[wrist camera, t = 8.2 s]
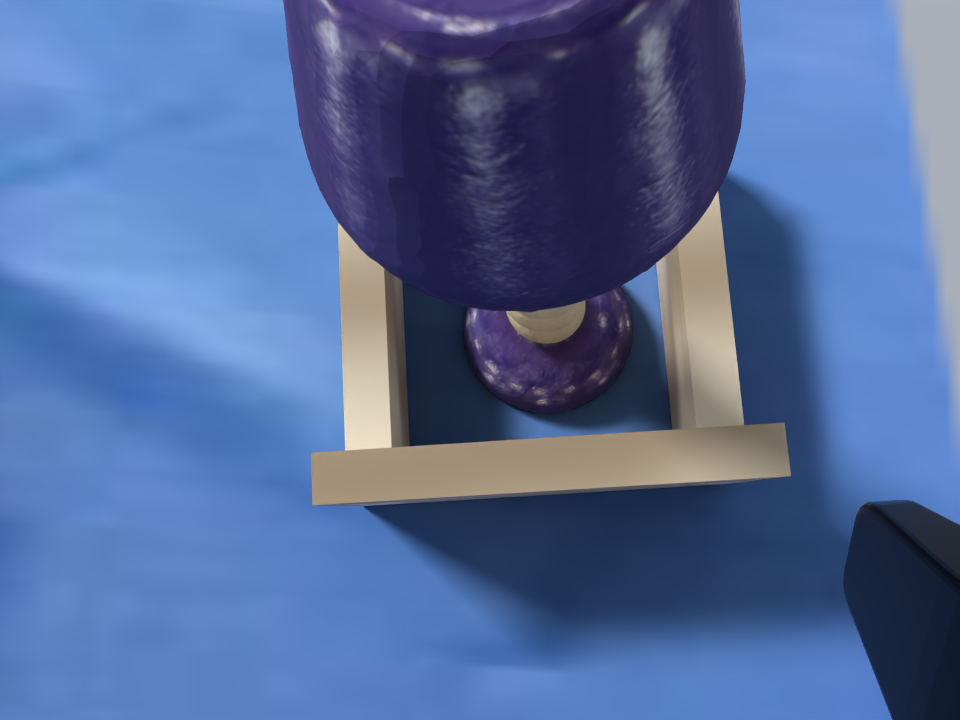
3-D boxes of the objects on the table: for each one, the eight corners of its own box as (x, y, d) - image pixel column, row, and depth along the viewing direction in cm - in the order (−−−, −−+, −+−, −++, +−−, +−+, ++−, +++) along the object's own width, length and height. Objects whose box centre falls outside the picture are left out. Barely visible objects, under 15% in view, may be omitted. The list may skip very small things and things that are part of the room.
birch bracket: (729, 483, 21) (791, 476, 16) (361, 506, 21) (312, 504, 17) (694, 153, 23) (740, 54, 18) (350, 180, 23) (301, 90, 18)
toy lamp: (549, 466, 21) (578, 324, 5) (402, 352, 22) (6, -98, 6) (665, 314, 22) (1044, -277, 5) (518, 208, 23) (460, -598, 6)
